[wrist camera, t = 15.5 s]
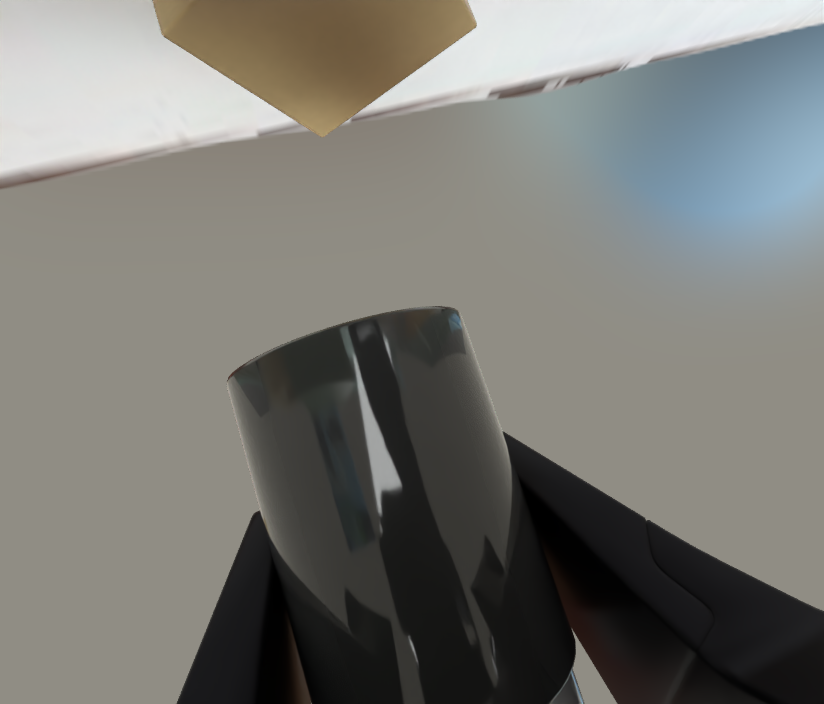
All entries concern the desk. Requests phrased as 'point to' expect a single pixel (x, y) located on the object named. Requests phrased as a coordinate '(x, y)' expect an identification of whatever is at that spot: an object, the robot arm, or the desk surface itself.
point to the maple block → (315, 47)
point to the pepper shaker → (400, 519)
